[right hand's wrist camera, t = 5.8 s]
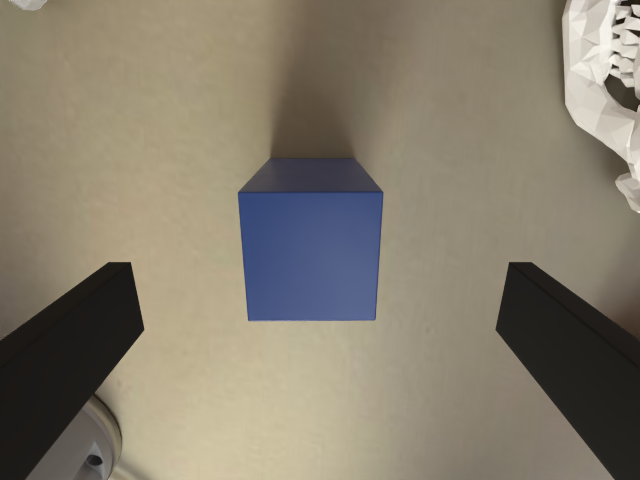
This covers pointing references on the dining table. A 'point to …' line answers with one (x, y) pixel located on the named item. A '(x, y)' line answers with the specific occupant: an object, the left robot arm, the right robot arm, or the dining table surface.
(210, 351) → the dining table surface
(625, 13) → the skull
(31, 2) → the grey jointed segment piece
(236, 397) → the dining table surface
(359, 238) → the block
